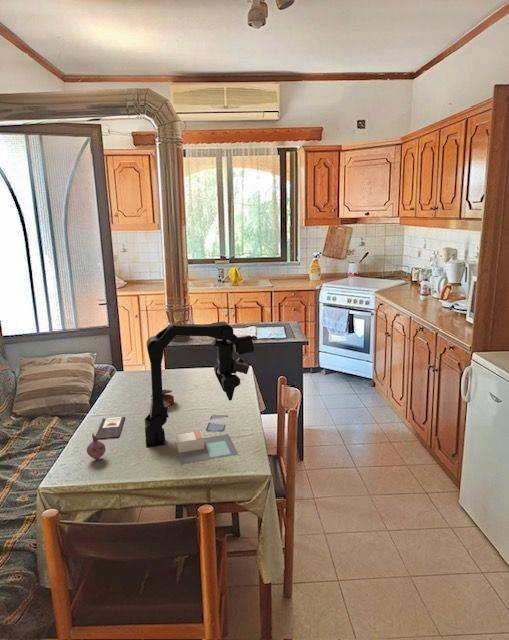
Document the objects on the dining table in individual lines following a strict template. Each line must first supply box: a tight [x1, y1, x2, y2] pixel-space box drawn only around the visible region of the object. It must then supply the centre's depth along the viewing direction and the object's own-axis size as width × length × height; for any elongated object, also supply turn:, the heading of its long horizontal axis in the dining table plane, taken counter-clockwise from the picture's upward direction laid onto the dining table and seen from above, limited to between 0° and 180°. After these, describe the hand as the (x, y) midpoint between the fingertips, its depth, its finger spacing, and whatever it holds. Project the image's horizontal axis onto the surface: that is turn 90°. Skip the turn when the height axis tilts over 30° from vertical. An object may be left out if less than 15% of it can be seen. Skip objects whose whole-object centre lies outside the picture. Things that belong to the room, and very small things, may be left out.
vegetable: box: [86, 433, 107, 460], centre depth 161 cm, size 6×6×10 cm
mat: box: [174, 433, 239, 465], centre depth 166 cm, size 20×16×1 cm
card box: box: [175, 430, 205, 453], centre depth 167 cm, size 9×6×4 cm, turn 106°
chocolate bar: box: [95, 416, 126, 440], centre depth 186 cm, size 9×1×18 cm
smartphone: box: [205, 414, 229, 433], centre depth 186 cm, size 7×1×15 cm
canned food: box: [150, 389, 175, 408], centre depth 207 cm, size 11×10×10 cm
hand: (227, 395), depth 176 cm, fingers open, 9 cm apart
